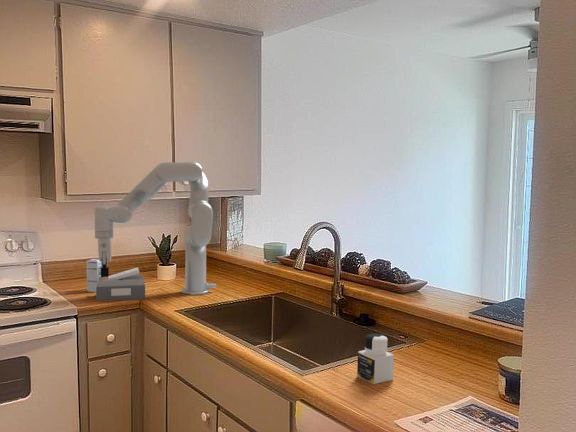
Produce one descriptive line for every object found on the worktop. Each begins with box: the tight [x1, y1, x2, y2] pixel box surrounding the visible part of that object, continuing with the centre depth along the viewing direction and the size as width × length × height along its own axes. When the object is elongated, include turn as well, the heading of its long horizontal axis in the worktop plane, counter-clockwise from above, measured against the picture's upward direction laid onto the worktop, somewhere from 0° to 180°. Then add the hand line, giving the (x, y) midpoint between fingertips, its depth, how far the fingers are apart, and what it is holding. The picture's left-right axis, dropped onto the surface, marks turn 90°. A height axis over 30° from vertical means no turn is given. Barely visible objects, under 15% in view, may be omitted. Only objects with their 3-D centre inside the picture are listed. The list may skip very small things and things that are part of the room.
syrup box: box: [86, 258, 101, 293], centre depth 249 cm, size 6×6×14 cm
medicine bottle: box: [356, 333, 395, 385], centre depth 149 cm, size 7×7×12 cm
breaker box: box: [95, 274, 146, 302], centre depth 239 cm, size 20×12×8 cm, turn 107°
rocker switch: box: [101, 267, 140, 281], centre depth 238 cm, size 16×7×2 cm, turn 107°
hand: (104, 276), depth 236 cm, fingers closed
